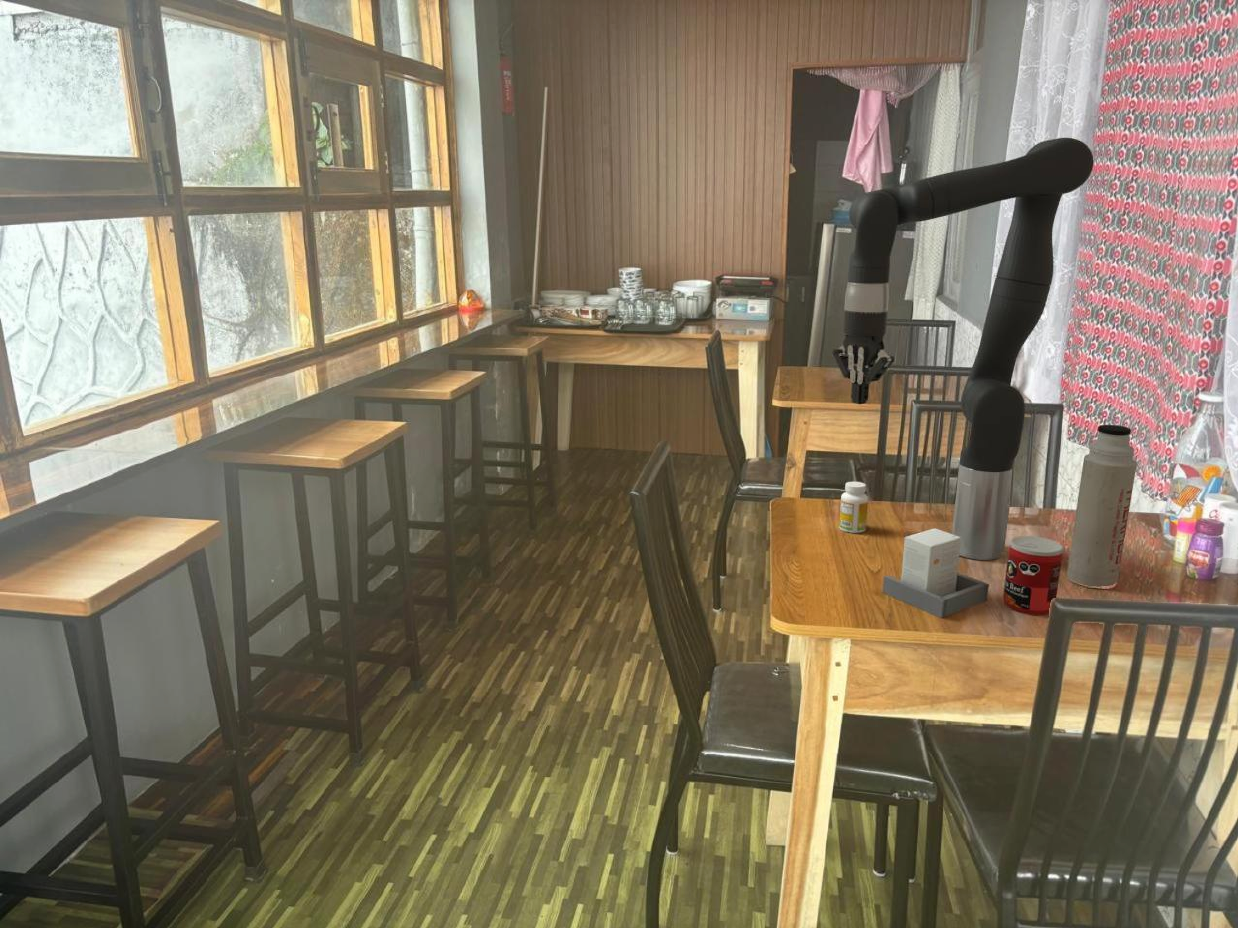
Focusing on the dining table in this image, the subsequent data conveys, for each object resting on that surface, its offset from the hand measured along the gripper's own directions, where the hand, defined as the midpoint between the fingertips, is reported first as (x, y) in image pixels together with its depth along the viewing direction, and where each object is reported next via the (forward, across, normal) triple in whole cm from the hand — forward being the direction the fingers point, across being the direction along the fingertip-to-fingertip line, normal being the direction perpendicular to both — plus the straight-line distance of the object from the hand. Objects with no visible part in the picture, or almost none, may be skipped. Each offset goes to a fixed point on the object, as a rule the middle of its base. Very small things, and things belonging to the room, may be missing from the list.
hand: (858, 403), depth 166 cm
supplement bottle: (+29, +8, -10) cm, 32 cm away
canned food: (+29, -34, -6) cm, 45 cm away
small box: (+29, -22, +4) cm, 37 cm away
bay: (+29, -22, +4) cm, 37 cm away
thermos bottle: (+29, -34, -25) cm, 51 cm away
